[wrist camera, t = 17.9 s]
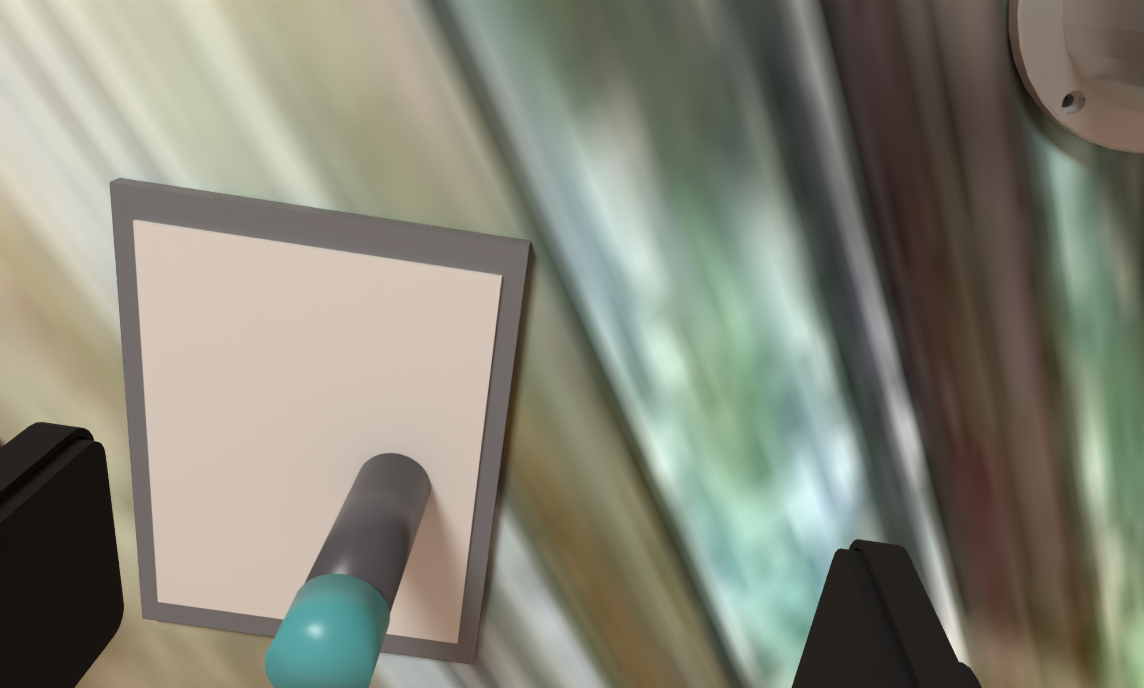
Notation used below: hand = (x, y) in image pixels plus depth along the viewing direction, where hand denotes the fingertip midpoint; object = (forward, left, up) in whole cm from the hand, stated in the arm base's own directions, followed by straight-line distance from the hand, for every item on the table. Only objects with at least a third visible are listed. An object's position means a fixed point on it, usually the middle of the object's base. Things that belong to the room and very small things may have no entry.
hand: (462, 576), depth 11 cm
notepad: (+10, +16, -27) cm, 33 cm away
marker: (+6, +17, -26) cm, 32 cm away
